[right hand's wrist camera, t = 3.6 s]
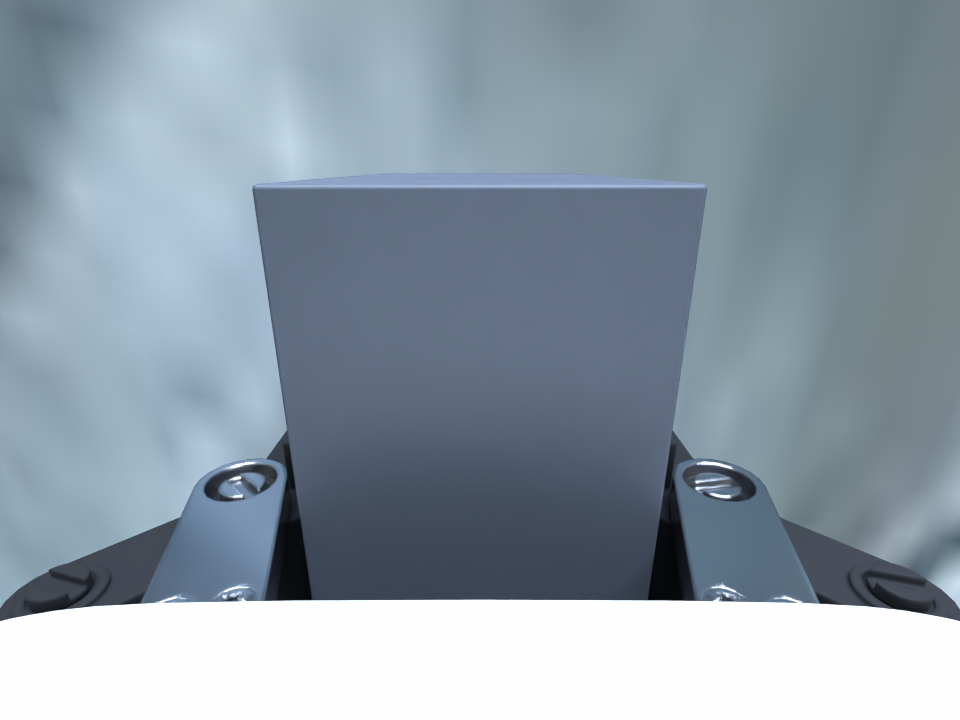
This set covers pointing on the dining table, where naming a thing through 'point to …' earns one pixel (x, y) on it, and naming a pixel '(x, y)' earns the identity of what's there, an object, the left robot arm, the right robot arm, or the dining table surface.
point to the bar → (479, 377)
